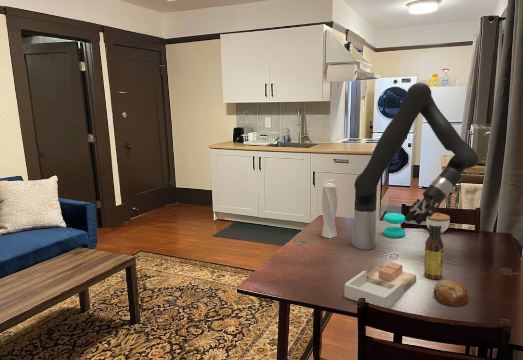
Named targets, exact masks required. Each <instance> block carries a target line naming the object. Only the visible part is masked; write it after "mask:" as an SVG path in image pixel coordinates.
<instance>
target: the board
mask: <svg viewBox="0 0 523 360" xmlns="http://www.w3.org/2000/svg"><path fill="white" fill-rule="evenodd" d="M384 266H385V265H381V264H380V265H378V266H377V267H374V269H372V270H371V271H369V272H367V282H370V283H373V284H377V285H380V286H383V287H386V288H390V289H391V288H393V287H394V286H395V285H396V284H397V283H399V282H400V281H402V282H404V290H403V294H404V293H406V292H407V291H408V290H409V289H410V288H411V287H412V286H413V285H415V283H416V282H417V274H414V273H410V272H406V271H404V270H402V273H401V274H400V275H399V276H397V277H396V278H395V279H394V280H393V281H391V282H389V281H386V280H383V279H379V270H380V269H381V268H383V267H384Z"/></svg>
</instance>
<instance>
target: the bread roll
mask: <svg viewBox="0 0 523 360" xmlns="http://www.w3.org/2000/svg"><path fill="white" fill-rule="evenodd" d="M433 298H434V299H435V300H437V301H438V302H439V303H441V304H444V305H446V306H452V307H456V306H462V305H465V304H466V303H467V301H468V298H469V296H468V291H467V289H466V288H465V287H464V285H463V284H461V283H460V282H458V281H454V280H448V279H441V280H439V281H438V282H437V284H435V286H434V289H433Z"/></svg>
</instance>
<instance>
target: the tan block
mask: <svg viewBox="0 0 523 360" xmlns="http://www.w3.org/2000/svg"><path fill="white" fill-rule="evenodd" d="M384 266H385V267H389V268H393V269H396V270H397V273H396V277H397V276H399V275H400V274H401V273H402V271H403V264H400V263H396V262H392V261H390V262H388V263H387V264H386V265H384Z"/></svg>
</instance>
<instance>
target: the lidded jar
mask: <svg viewBox="0 0 523 360" xmlns="http://www.w3.org/2000/svg"><path fill="white" fill-rule="evenodd" d="M450 220H451V217H450V215H448V214H444V213H440V212H434V214H433V215H432V216H431V217H429V216H428V217H427V218H425V223H426V227H427V228H428V229H429V224H430V223H438V224H441V234H443V233H444V232H445V231H447V229H449V225H450V223H451V222H450Z"/></svg>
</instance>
